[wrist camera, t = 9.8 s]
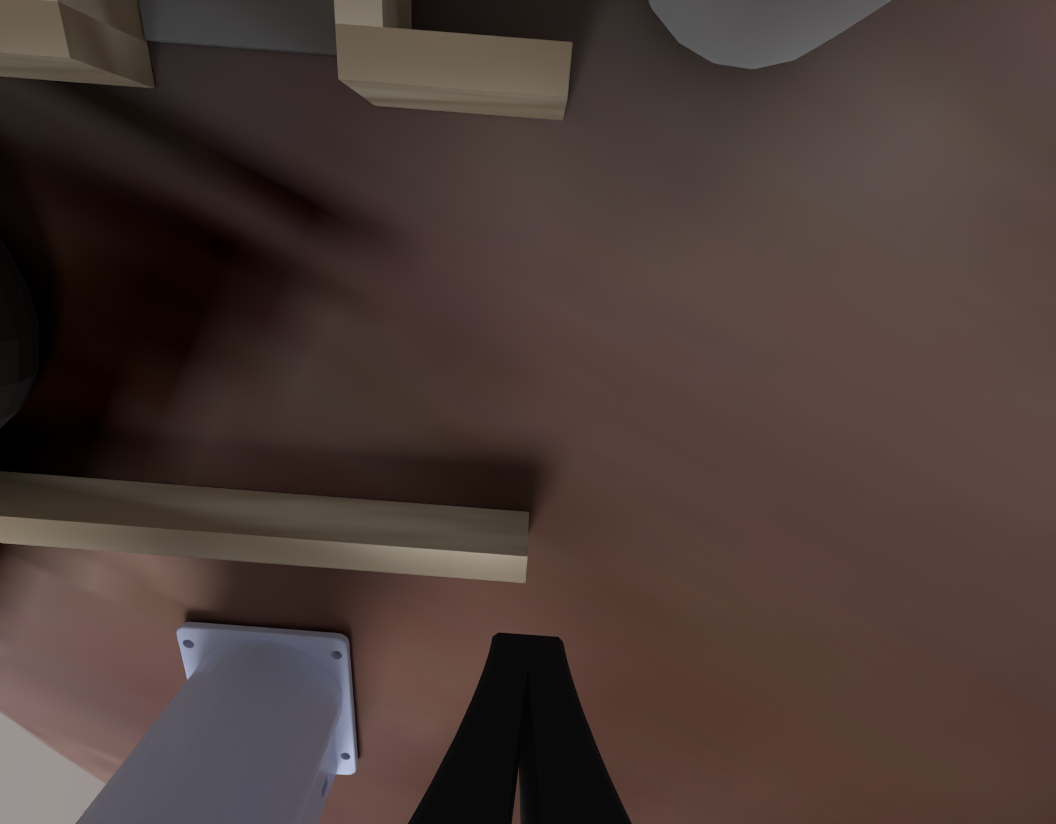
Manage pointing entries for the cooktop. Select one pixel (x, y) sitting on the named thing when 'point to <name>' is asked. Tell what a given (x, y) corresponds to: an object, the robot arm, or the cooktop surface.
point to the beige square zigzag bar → (384, 80)
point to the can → (758, 27)
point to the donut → (16, 338)
